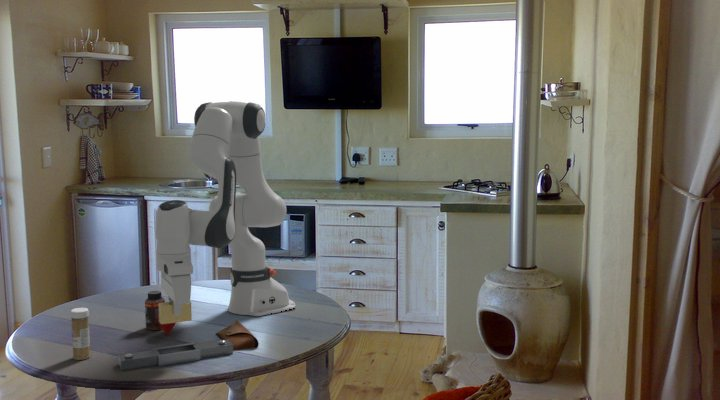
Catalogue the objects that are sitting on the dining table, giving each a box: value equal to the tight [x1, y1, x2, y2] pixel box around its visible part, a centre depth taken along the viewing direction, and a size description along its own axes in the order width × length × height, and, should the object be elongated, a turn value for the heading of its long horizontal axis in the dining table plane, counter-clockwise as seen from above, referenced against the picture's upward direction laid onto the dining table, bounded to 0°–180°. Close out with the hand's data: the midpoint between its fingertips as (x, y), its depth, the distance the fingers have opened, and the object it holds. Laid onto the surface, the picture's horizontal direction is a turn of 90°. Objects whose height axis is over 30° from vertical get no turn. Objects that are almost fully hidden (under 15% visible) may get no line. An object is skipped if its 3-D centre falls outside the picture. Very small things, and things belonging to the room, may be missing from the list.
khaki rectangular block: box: [159, 301, 193, 324], centre depth 192 cm, size 8×3×5 cm, turn 116°
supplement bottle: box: [144, 290, 166, 331], centre depth 220 cm, size 6×6×11 cm
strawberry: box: [157, 313, 177, 335], centre depth 214 cm, size 6×8×10 cm
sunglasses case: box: [214, 319, 260, 352], centre depth 209 cm, size 18×7×7 cm, turn 27°
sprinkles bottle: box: [69, 307, 91, 361], centre depth 194 cm, size 5×5×13 cm
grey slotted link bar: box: [117, 339, 234, 371], centre depth 194 cm, size 30×7×3 cm, turn 116°
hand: (175, 313), depth 192 cm, fingers closed on khaki rectangular block, 3 cm apart
